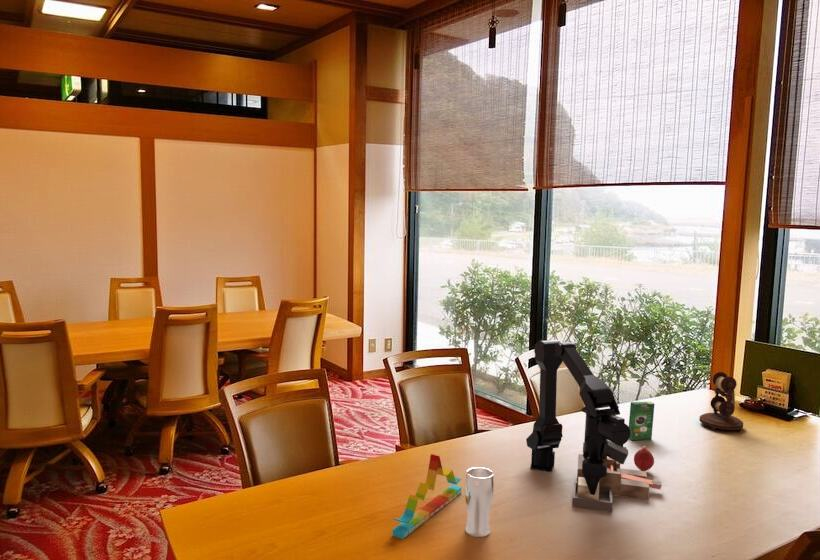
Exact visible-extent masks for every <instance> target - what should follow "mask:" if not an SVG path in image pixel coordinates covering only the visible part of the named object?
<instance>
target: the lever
mask: <svg viewBox="0 0 820 560" xmlns="http://www.w3.org/2000/svg"><path fill="white" fill-rule="evenodd" d="M607 470H608V471H613V465H611V467H610V468H608V467H607ZM621 479H629V480H636V481H644V482H648V484H649V488H651V489H656V490H661V489H662V487H663V484H662V481H659V480H656V479H648V478H647V479H645V478H640V477H636V476H633V475H627V474H623V473H621Z"/></svg>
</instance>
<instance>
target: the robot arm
mask: <svg viewBox="0 0 820 560" xmlns="http://www.w3.org/2000/svg"><path fill="white" fill-rule="evenodd" d="M533 350H534V359H535V362H536V364H537V365H538V367H539V370H540V371H539V403H538V404H539V407H538V410H539V411H538V416H537V418H536V420H535V422H534V423H533V426H532V432H531V433H530V435H528V437H527V438H526V446H527V447H528V448H529V449H531V460H530V461H531V462H530V466H529V468H530V469H532V470H538V471H539V470H540V471H546V472H553V468H555V463H556V461H555V458H556V452H555V451H554V449H559V447H560V444H561V441H562V438H563V436H564V435H563V428H564V427H563V424H562V423H560V422H559V420H558V419H557V390H558V389H557V386H558V385H557V384H558V382H557V381H558V369H559V368H560V366H561V365H562V363H564V365H565V367H566V368H567V369H568V371H569V373H570V375H572V377H573V378H574V380H575V382H576V383H577V385H578V387H579V393H578V394H579V397H580V398H581V401H582V403H583V404H584V407H582V408H581V409H580V411H581V412H582V413H584V414H585V421H584V422H585V425H584V438H583V439H584V442H582V455H583V457H584V460H583V461H582V474H583V475H584V478H585V481H586V483H587V486H588V489H589V491H590V494H591V495H595V492H596V489H597V486H598V483H599V480H600V478H602V477H605V476H607V464H606V463H605V462H604V461H603V460H604V459H607V458H611V459H613V460H615V461H617V462H618V463H620V465H624V464H625V462H626V460H627V458H628V456H629V450H628V449H627V447H626V446H624V445H625V444H626V443H627V442H628V441H629V440H630V439H629V437H630V434H631V431H630V429H629V424H628V425H627V424H626V423H625V418H623V417H622V416H620V415H621V412H620V409H619V408H620V406H619V405H618V403H617V401H616V398H615V396H614V392H613V391H612V389H611V388H610V386H608V384H607V383H606V382H605V381H604V380H602V379H600V378H598V377H596V375H594V373H593V372H592V370H591V369H590V367H589V366H588V365H587V363H586V361H585V360H584V359H583V357H582V356H581V354H580V353H579V352H578V350H577V346H576V344H575V343H574V342H571V341H567V342H566V341H565V342H561V341H560V340H559V339H550V340H549V339H548V340H539V341H537V342H536V343H535V345H534V349H533Z"/></svg>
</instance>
